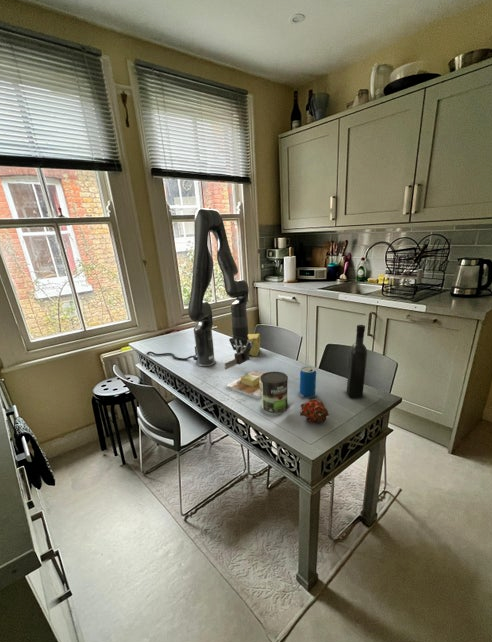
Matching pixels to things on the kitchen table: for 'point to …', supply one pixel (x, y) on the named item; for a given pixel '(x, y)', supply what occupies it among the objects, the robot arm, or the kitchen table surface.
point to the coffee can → (274, 392)
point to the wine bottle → (357, 365)
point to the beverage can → (307, 382)
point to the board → (246, 388)
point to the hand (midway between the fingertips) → (242, 359)
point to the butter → (250, 380)
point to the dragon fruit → (314, 411)
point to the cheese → (254, 344)
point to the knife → (236, 360)
